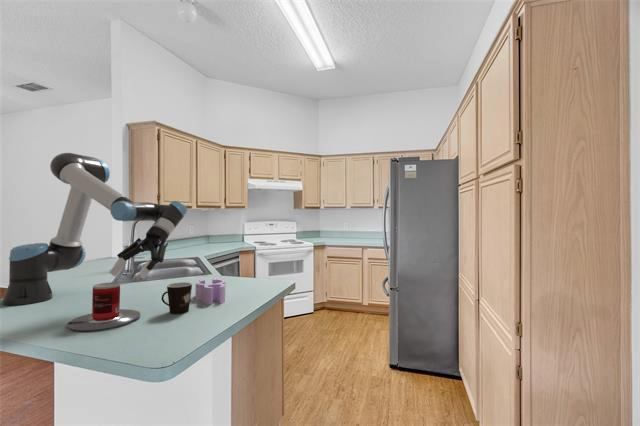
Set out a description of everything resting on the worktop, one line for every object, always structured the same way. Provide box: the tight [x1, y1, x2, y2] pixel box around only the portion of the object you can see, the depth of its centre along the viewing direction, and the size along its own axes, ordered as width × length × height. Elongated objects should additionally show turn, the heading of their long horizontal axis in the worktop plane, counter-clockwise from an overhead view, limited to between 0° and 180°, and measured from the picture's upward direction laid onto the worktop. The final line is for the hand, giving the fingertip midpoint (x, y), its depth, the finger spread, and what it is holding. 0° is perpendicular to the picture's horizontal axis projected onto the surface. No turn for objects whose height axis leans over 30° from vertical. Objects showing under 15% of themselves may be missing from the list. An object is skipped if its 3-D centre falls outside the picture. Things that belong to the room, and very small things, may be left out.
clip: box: [194, 277, 226, 306], centre depth 134 cm, size 20×12×7 cm, turn 29°
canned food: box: [91, 281, 121, 321], centre depth 105 cm, size 8×8×11 cm
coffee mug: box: [161, 281, 193, 315], centre depth 114 cm, size 12×9×10 cm
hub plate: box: [67, 308, 141, 333], centre depth 104 cm, size 20×20×1 cm
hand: (126, 275), depth 111 cm, fingers open, 13 cm apart
